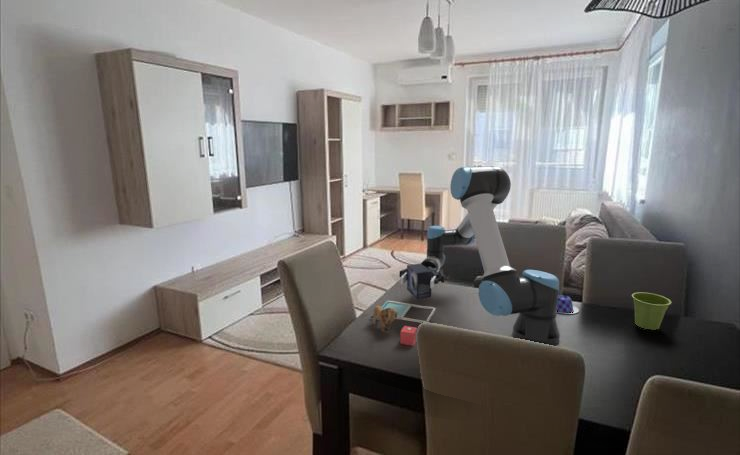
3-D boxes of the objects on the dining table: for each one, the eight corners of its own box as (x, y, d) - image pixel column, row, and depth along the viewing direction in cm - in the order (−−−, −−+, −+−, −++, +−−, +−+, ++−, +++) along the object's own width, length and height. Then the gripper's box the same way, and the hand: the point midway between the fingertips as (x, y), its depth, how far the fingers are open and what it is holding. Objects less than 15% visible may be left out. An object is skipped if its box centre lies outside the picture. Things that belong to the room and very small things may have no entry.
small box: (405, 289, 162) (406, 264, 160) (420, 288, 164) (421, 263, 162) (416, 299, 152) (416, 272, 150) (432, 297, 154) (432, 270, 152)
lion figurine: (400, 331, 146) (400, 307, 144) (388, 335, 143) (388, 311, 141) (375, 317, 157) (375, 295, 156) (364, 320, 154) (364, 298, 153)
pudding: (580, 317, 158) (581, 304, 157) (546, 313, 162) (548, 300, 161) (576, 305, 169) (577, 294, 168) (545, 302, 173) (546, 290, 172)
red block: (416, 340, 139) (417, 326, 138) (413, 346, 135) (413, 331, 134) (404, 337, 141) (404, 324, 140) (400, 343, 137) (400, 329, 136)
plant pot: (620, 324, 152) (624, 295, 149) (639, 317, 157) (643, 290, 155) (654, 337, 141) (659, 307, 139) (673, 330, 147) (678, 300, 144)
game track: (435, 309, 165) (435, 307, 164) (427, 323, 152) (427, 321, 152) (387, 302, 172) (387, 300, 172) (375, 315, 159) (375, 313, 159)
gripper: (457, 278, 170) (446, 296, 150) (403, 272, 179) (387, 288, 159) (457, 261, 169) (447, 276, 149) (403, 255, 177) (387, 269, 157)
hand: (416, 282), depth 154 cm, fingers closed on small box, 11 cm apart
